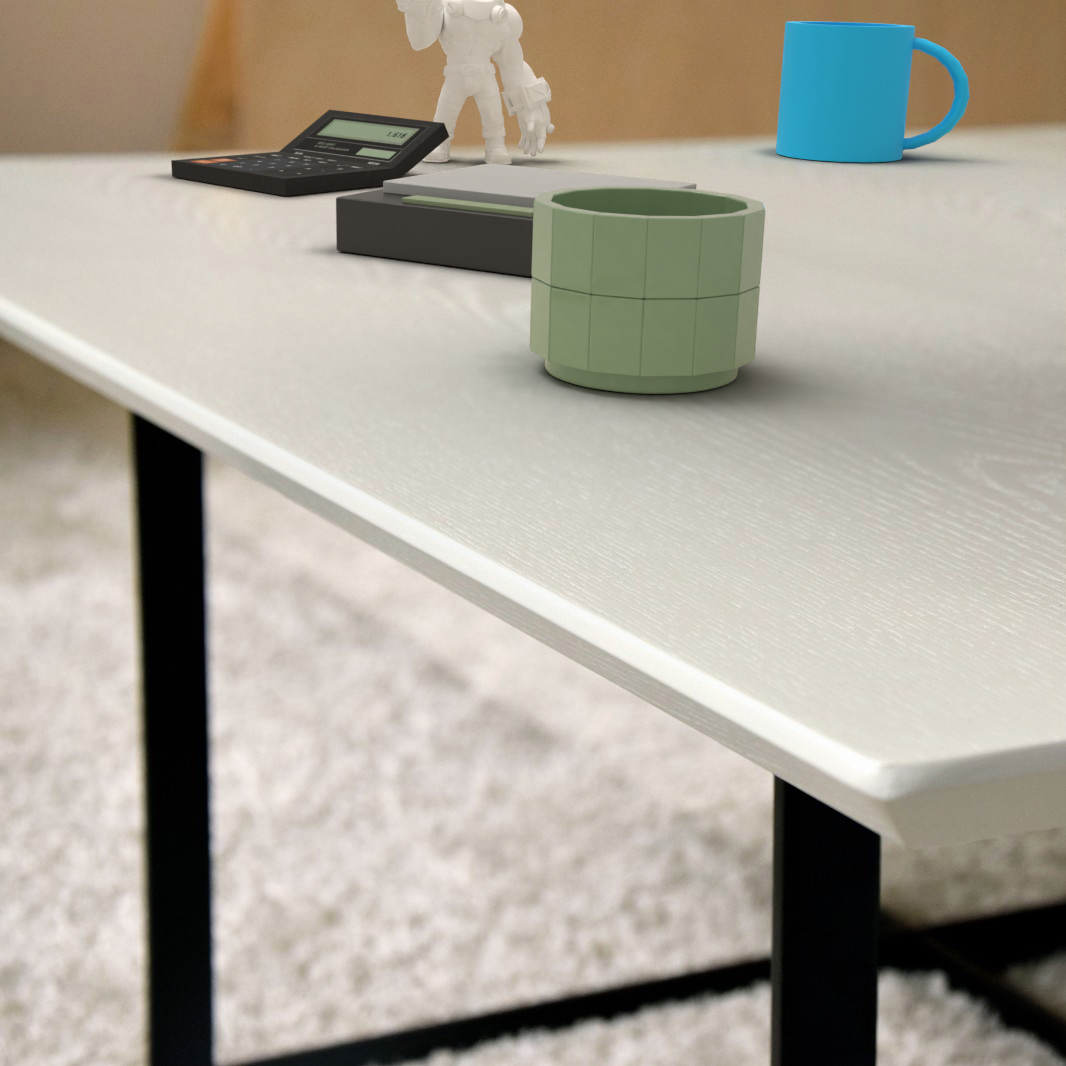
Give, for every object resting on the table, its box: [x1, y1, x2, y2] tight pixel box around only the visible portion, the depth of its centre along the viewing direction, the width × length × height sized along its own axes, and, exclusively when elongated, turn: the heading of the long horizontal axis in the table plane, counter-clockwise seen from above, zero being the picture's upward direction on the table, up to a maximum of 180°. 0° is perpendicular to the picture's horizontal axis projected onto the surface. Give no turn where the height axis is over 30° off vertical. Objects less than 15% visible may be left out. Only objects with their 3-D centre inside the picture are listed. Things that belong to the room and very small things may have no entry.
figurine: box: [395, 0, 556, 165], centre depth 96 cm, size 10×5×12 cm, turn 127°
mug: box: [775, 20, 970, 163], centre depth 105 cm, size 12×8×8 cm
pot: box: [529, 186, 766, 395], centre depth 48 cm, size 7×7×5 cm
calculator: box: [170, 109, 449, 197], centre depth 88 cm, size 9×12×3 cm
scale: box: [335, 163, 697, 278], centre depth 68 cm, size 12×11×3 cm
